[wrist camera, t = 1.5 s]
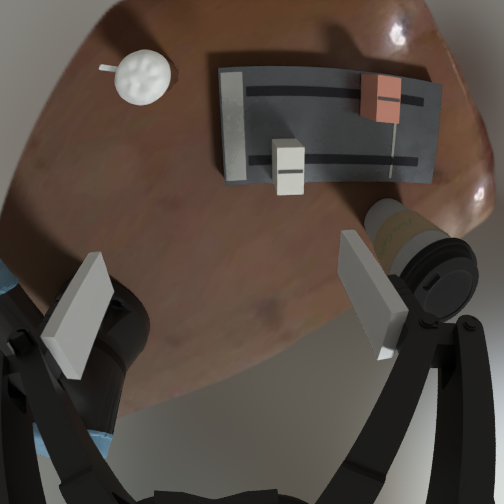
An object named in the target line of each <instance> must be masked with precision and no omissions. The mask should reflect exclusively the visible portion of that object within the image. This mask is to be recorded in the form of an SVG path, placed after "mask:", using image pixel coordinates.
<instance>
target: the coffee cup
mask: <svg viewBox="0 0 504 504" xmlns="http://www.w3.org/2000/svg"><path fill="white" fill-rule="evenodd" d="M364 227H365V230H366V232H367V234H368V236H369V238H370V240H371V242H372V244H373V246H374V251H375V253H376V255H377V257H378V260H379V262H380V264H381V266H382V268H383V270H384V272H385V274H386V275H391V274H396V275H397V276H398V277H400V278H401V279H403V280H404V282H405V283H406V285H407V286H408V288H409V289H410V290H411V292H412V294H413V295H414V296H415V298H416V299H417V301H418V302H419V304H420V305H421V307H422V308H423V310H424V311H425V312H428V313H431V314H433V315H435V316H436V317H437V318H439V320H440V322H442V323H443V322H445V321H447V320H449V319H451V318H452V317H454V316H455V315H456V314H458V313H459V312H460V311H461V310H462V309H463V308H464V307H465V306H466V305H467V303H468V302H469V301H470V299H471V298H472V296H473V294H474V292H475V290H476V287H477V284H478V278H479V273H478V268H477V260H476V256H475V254H474V252H473V251H472V249H471V247H470V246H469V245H468V244H467V243H466V242H465V241H463V240H461V239H458V238H451V237H450V236H449V235H448V234H447V233H446V232H444V231H443V230H441V229H440V228H439V227H437V226H436V225H434V224H433V223H432V222H430V221H429V220H427V219H426V218H424V217H423V216H421V215H420V214H419V213H417V212H415V211H412V210H410V209H409V208H407V207H406V206H404V205H403V204H401V203H400V202H398V201H397V200H394V199H390V198H385V199H382V200H379V201H378V202H376V203H375V204H374V205H373V206H372V207H371V208H370V209H369V211H368V212H367V215H366V217H365V221H364Z"/></svg>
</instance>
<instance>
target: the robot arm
mask: <svg viewBox="0 0 504 504" xmlns="http://www.w3.org/2000/svg"><path fill="white" fill-rule="evenodd" d="M337 274H338V276H339V278H340V280H341V282H342V284H343V286H344V288H345V290H346V292H347V294H348V297H349V299H350V301H351V303H352V305H353V307H354V309H355V312H356V314H357V316H358V318H359V320H360V322H361V325H362V327H363V329H364V331H365V334H366V336H367V338H368V340H369V343H370V345H371V347H372V349H373V352H374V354H375V356H376V359H377V360H382V359H386V358H391V357H393V355H394V353H395V350H396V349H397V350H398V353H399V355H398V357H397V360H396V362H395V364H394V367H393V369H392V371H391V373H390V375H389V378H388V380H387V382H386V384H385V386H384V388H383V390H382V393H381V394H380V396H379V398H378V400H377V402H376V404H375V406H374V408H373V410H372V412H371V414H370V416H369V418H368V420H367V422H366V423H365V425H364V427H363V429H362V431H361V433H360V434H359V436H358V438H357V440H356V442H355V443H354V445H353V447H352V448H351V450H350V452H349V453H348V455H347V457H346V458H345V460H344V461H343V463H342V464H341V466H340V467H339V469H338V470H337V472H336V474H335V475H334V477H333V478H332V480H331V481H330V483H329V484H328V486H327V487H326V489H325V490H324V491H323V493H322V494H321V496H320V497H319V499H318V500H317V502H316V503H315V504H373V503H374V501H375V500H376V498H377V496H378V494H379V493H380V491H381V489H382V487H383V485H384V483H385V480H386V474H387V472H388V470H389V468H390V466H391V464H392V462H393V460H394V458H395V456H396V454H397V452H398V449H399V447H400V445H401V443H402V441H403V438H404V436H405V434H406V431H407V429H408V427H409V424H410V422H411V419H412V417H413V414H414V412H415V409H416V406H417V404H418V401H419V398H420V396H421V393H422V390H423V387H424V384H425V381H426V378H427V375H428V372H429V369H430V368H438V398H437V419H436V433H435V444H434V453H433V461H432V469H431V476H430V483H429V489H428V494H427V500H426V504H495V501H494V485H495V461H496V459H495V458H496V442H495V441H496V438H495V414H494V400H493V389H492V381H491V372H490V365H489V358H488V352H487V346H486V341H485V335H484V330H483V326H482V324H481V322H480V321H479V320H478V319H477V318H475V317H473V316H470V315H462V316H460V317H459V318H458V320H457V322H456V324H454V323H442V322H440V320H439V318H437V317H436V316H435V315H433V314H431V313H428V312H425V311H424V310H423V308H422V307H421V305H420V304H419V302H418V301H417V299H416V298H415V296H414V295H413V294H412V292H411V290H410V289H409V288H408V286H407V285H406V283H405V282H404V280H403V279H401V278H400V277H398V276H397V275H396V274H391V275H386V274H385V273H384V271H383V270H382V268H381V267H380V265H379V264H378V262H377V261H376V259H375V258H374V257H373V255H372V254H371V252H370V251H369V249H368V248H367V246H366V245H365V244H364V242H363V241H362V239H361V238H360V237H359V235H358V234H357V232H356V231H355V230H343V231H341V240H340V251H339V261H338V271H337ZM18 282H19V279H18V278H17V277H16V276H14V275H13V274H12V273H11V272H10V270H9V269H8V268H7V267H6V265H5V264H4V262H3V261H2V260H1V258H0V504H46V500H45V496H44V491H43V487H42V482H41V477H40V472H39V467H38V461H37V455H36V453H39V454H40V455H43V456H45V457H48V458H50V459H51V461H52V463H53V465H54V467H55V469H56V471H57V473H58V475H59V478H60V480H61V484H60V485H59V489H60V491H61V494H62V496H63V498H64V499H65V501H66V503H67V504H308V503H307V502H305V501H302V500H300V499H298V498H295V497H292V496H288V495H281V494H278V491H277V489H271V490H260V491H247V492H243V493H239V494H235V495H232V496H228V497H224V498H220V499H208V498H204V497H200V496H196V495H191V494H188V493H184V492H169V491H154V497H149V498H146V499H143V500H140V501H138V502H136V501H135V500H134V499H133V498H132V497H131V496H130V495H129V494H128V493H127V491H126V490H125V489H124V488H123V486H122V485H121V483H120V482H119V481H118V479H117V478H116V476H115V475H114V473H113V472H112V470H111V469H110V467H109V466H108V464H107V462H106V461H105V458H106V457H107V453H108V449H109V445H110V442H111V440H112V439H113V432H114V427H115V422H116V417H117V412H118V407H119V402H120V397H121V393H122V388H123V384H124V379H125V375H126V372H127V370H128V369H129V367H130V366H131V365H132V363H133V362H134V361H135V359H136V358H137V357H138V355H139V354H140V353H141V352H142V350H143V349H144V347H145V345H146V343H147V339H148V335H149V331H150V321H149V317H148V314H147V312H146V310H145V308H144V307H143V305H142V304H141V302H140V301H139V300H138V299H137V298H136V297H135V296H134V295H133V294H132V293H131V292H130V291H128V290H127V289H125V288H124V287H122V286H121V285H119V284H117V283H115V282H113V281H111V280H110V278H109V275H108V272H107V269H106V266H105V263H104V260H103V257H102V254H101V252H91V253H89V254H88V255H87V257H86V258H85V260H84V261H83V263H82V265H81V266H80V268H79V269H78V271H77V273H76V274H75V276H74V277H73V279H71V280H69V281H67V282H66V283H65V284H64V285H63V286H62V288H61V289H60V291H59V292H58V294H57V296H56V298H55V300H54V303H53V305H52V306H51V307H50V308H49V309H48V311H47V313H46V314H45V316H44V315H43V314H42V313H41V312H40V310H39V309H38V308H37V307H36V305H35V304H34V303H33V301H32V300H31V299H30V298H29V296H28V295H27V294H26V292H25V291H24V290H23V288H22V287H21V286H20V284H19V283H18Z"/></svg>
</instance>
